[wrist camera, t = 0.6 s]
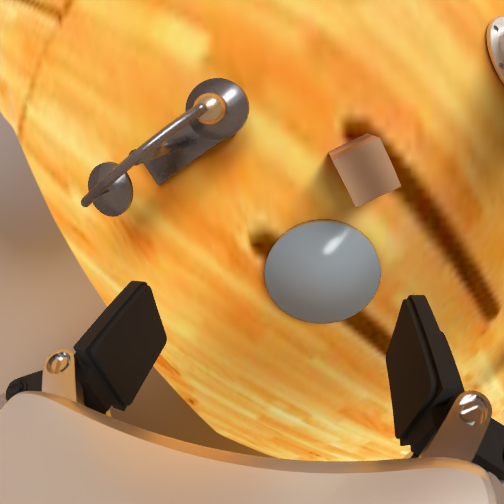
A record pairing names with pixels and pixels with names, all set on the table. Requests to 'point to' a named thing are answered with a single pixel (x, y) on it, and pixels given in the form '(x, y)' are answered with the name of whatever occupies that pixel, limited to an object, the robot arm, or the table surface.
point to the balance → (172, 144)
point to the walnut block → (365, 168)
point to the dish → (322, 271)
